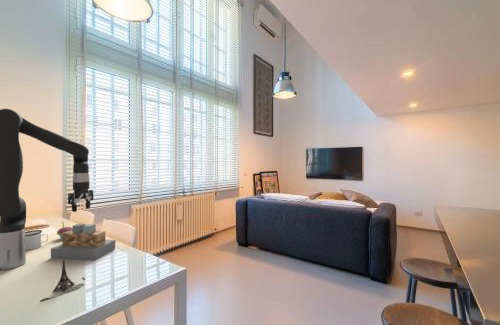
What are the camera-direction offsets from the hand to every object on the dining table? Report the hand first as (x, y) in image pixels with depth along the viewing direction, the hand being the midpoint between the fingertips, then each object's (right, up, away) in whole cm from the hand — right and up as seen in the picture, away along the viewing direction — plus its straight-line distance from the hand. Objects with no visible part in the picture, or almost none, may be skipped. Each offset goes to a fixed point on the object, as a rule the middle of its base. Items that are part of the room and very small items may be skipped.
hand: (81, 209), depth 128 cm
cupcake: (-27, -23, +22) cm, 42 cm away
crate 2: (+7, -12, -3) cm, 14 cm away
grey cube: (0, -12, -2) cm, 12 cm away
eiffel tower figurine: (+20, -24, -37) cm, 49 cm away
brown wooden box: (+3, -18, -3) cm, 19 cm away
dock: (+4, -23, -3) cm, 24 cm away
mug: (-33, -24, +7) cm, 41 cm away
